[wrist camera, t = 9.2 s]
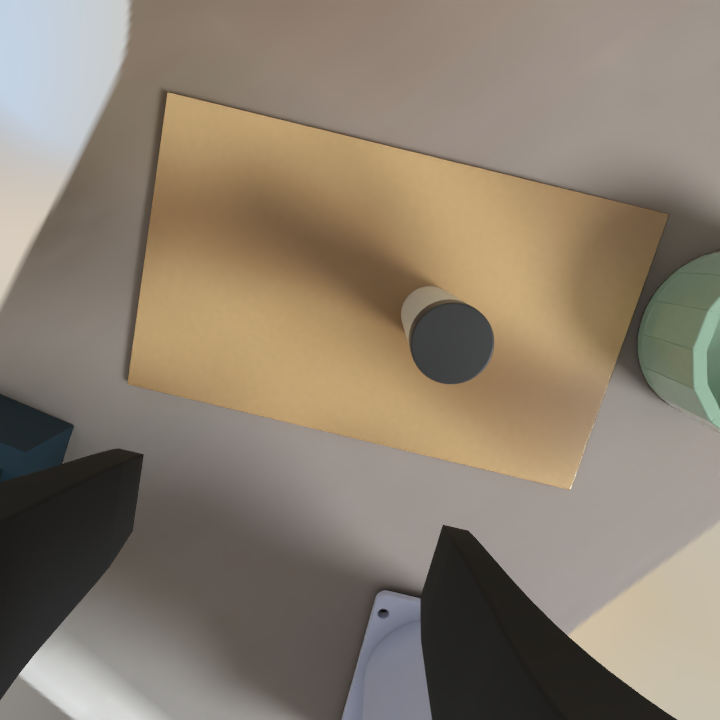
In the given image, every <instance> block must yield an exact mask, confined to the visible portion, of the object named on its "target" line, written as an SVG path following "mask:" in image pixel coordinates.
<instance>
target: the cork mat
mask: <svg viewBox="0 0 720 720" xmlns="http://www.w3.org/2000/svg"><path fill="white" fill-rule="evenodd" d="M668 216H669V214H666V213H662V212H658V211H654V210H650V209H646V208H642V207H638V206H634V205H629V204H625V203H621V202H617V201H613V200H609V199H605V198H601V197H597V196H593V195H588V194H584V193H580V192H576V191H572V190H568V189H564V188H560V187H556V186H551V185H547V184H543V183H539V182H535V181H531V180H527V179H523V178H519V177H514V176H510V175H506V174H502V173H498V172H494V171H490V170H486V169H482V168H477V167H473V166H469V165H465V164H461V163H457V162H453V161H449V160H445V159H441V158H436V157H432V156H428V155H424V154H420V153H416V152H412V151H408V150H404V149H399V148H395V147H391V146H387V145H383V144H379V143H375V142H371V141H367V140H362V139H358V138H354V137H350V136H346V135H342V134H338V133H334V132H330V131H325V130H321V129H317V128H313V127H309V126H305V125H301V124H297V123H293V122H289V121H284V120H280V119H276V118H272V117H268V116H264V115H260V114H256V113H252V112H247V111H243V110H239V109H235V108H231V107H227V106H223V105H219V104H215V103H210V102H206V101H202V100H198V99H194V98H190V97H186V96H182V95H178V94H173V93H169V92H168V93H167V99H166V106H165V114H164V121H163V128H162V135H161V143H160V150H159V157H158V165H157V172H156V179H155V186H154V194H153V201H152V208H151V216H150V223H149V230H148V237H147V245H146V252H145V259H144V267H143V274H142V281H141V288H140V296H139V303H138V310H137V317H136V325H135V332H134V339H133V347H132V354H131V361H130V368H129V376H128V383H127V384H130V385H134V386H138V387H142V388H146V389H150V390H155V391H159V392H163V393H167V394H171V395H175V396H180V397H184V398H188V399H192V400H196V401H201V402H205V403H209V404H213V405H217V406H221V407H226V408H230V409H234V410H238V411H242V412H246V413H251V414H255V415H259V416H263V417H267V418H272V419H276V420H280V421H284V422H288V423H292V424H297V425H301V426H305V427H309V428H313V429H318V430H322V431H326V432H330V433H334V434H338V435H343V436H347V437H351V438H355V439H359V440H363V441H368V442H372V443H376V444H380V445H384V446H389V447H393V448H397V449H401V450H405V451H409V452H414V453H418V454H422V455H426V456H430V457H435V458H439V459H443V460H447V461H451V462H455V463H460V464H464V465H468V466H472V467H476V468H480V469H485V470H489V471H493V472H497V473H501V474H506V475H510V476H514V477H518V478H522V479H526V480H531V481H535V482H539V483H543V484H547V485H551V486H556V487H560V488H564V489H568V490H570V489H571V486H572V484H573V481H574V478H575V475H576V473H577V470H578V467H579V464H580V461H581V459H582V456H583V453H584V450H585V447H586V445H587V442H588V439H589V436H590V434H591V431H592V428H593V425H594V422H595V420H596V417H597V414H598V411H599V408H600V406H601V403H602V400H603V397H604V395H605V392H606V389H607V386H608V383H609V381H610V378H611V375H612V372H613V369H614V367H615V364H616V361H617V358H618V356H619V353H620V350H621V347H622V344H623V342H624V339H625V336H626V333H627V330H628V328H629V325H630V322H631V319H632V317H633V314H634V311H635V308H636V305H637V303H638V300H639V297H640V294H641V291H642V289H643V286H644V283H645V280H646V278H647V275H648V272H649V269H650V266H651V264H652V261H653V258H654V255H655V252H656V250H657V247H658V244H659V241H660V239H661V236H662V233H663V230H664V227H665V225H666V222H667V219H668ZM425 286H434V287H438V288H441V289H443V290H445V291H447V292H448V293H450V294H452V295H453V296H455V297H457V298H459V299H460V300H462V301H464V302H465V303H467V304H469V305H470V306H472V307H474V308H475V309H477V310H479V311H480V312H481V313H482V314H483V315H484V316H485V317H486V319H487V320H488V322H489V323H490V325H491V327H492V330H493V334H494V350H493V354H492V357H491V359H490V361H489V363H488V365H487V366H486V368H485V369H484V370H483V371H482V372H481V373H480V374H479V375H477V376H476V377H474V378H473V379H471V380H469V381H467V382H464V383H460V384H442V383H438V382H435V381H433V380H431V379H430V378H428V377H426V376H425V375H424V374H423V373H422V372H421V371H420V370H419V369H418V367H417V366H416V364H415V362H414V360H413V358H412V355H411V351H410V348H409V344H408V341H407V337H406V334H405V331H404V327H403V324H402V320H401V310H402V306H403V303H404V301H405V300H406V298H407V297H408V296H409V295H410V294H411V293H412V292H413V291H415V290H416V289H418V288H421V287H425Z"/></svg>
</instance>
